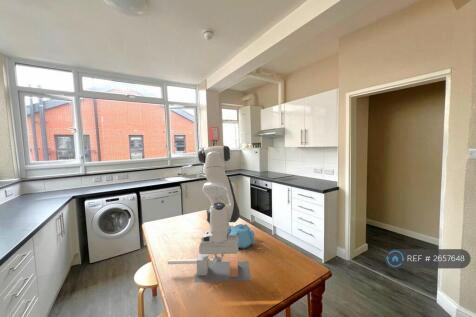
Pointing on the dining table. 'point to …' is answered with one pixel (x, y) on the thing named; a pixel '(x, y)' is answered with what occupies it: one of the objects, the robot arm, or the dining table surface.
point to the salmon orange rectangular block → (233, 267)
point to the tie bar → (189, 261)
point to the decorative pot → (242, 235)
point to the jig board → (219, 271)
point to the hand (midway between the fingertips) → (219, 261)
